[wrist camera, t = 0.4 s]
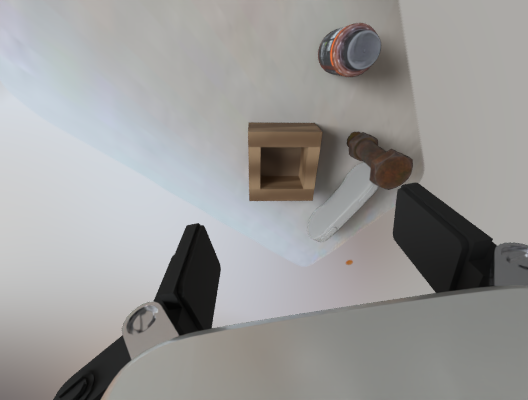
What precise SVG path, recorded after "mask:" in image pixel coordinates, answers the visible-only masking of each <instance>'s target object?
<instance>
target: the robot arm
mask: <svg viewBox="0 0 528 400" xmlns="http://www.w3.org/2000/svg"><path fill="white" fill-rule="evenodd" d="M393 237H394V240H395V241H396V242H397V244H398V245H399V246H400V247H401V249H402V250H403V251H404V253H405V254H406V255H407V257H408V258H409V259H410V260H411V262H412V263H413V264H414V265H415V266H416V268H417V269H418V271H419V272H420V273H421V274H422V276H423V277H424V278H425V279H426V281H427V282H428V283H429V285H430V286H431V287H432V288H433V290H434V291H435V292H436V293H433V294H427V295H420V296H413V297H406V298H400V299H393V300H387V301H380V302H373V303H366V304H360V305H354V306H347V307H341V308H334V309H328V310H321V311H315V312H309V313H302V314H296V315H289V316H284V317H277V318H271V319H265V320H258V321H252V322H246V323H240V324H234V325H229V326H223V327H217V328H212V322H213V315H214V309H215V303H216V296H217V290H218V284H219V277H220V271H221V268H220V263H219V260H218V258H217V256H216V253H215V251H214V248H213V246H212V244H211V241H210V239H209V236H208V234H207V231H206V229H205V227H204V226H203V225H202V226H201V225H200V224H199V223H197V224H192V225H187V226H186V228H185V231H184V233H183V236H182V238H181V240H180V243H179V245H178V248H177V250H176V253H175V255H174V256H173V257H172V258H171V261H170V263H169V266H168V268H167V271H166V273H165V275H164V278H163V280H162V282H161V285H160V287H159V290H158V292H157V294H156V297H155V299H154V302H147V303H145V304H142V305H140V306H139V307H137V308H136V309H135V310H133V311H132V312H131V313H130V314H129V316H128V317H127V318H126V320H125V322H124V323H123V327H122V334H123V335H122V336H121V337H120V338H119V339H118V340H116V341H115V342H114V343H112V344H111V345H110V346H109V347H108V348H106V349H105V350H104V351H103V352H101V353H100V354H99V355H98V356H96V357H95V358H94V359H93V360H92V361H91V362H89V363H88V364H87V365H85V366H84V367H83V368H82V369H80V370H79V371H78V372H77V373H76V374H74V375H73V376H72V377H71V378H70V379H69V380H68V381H67V382H65V384H64V385H63V386H62V387H61V388H60V390H59V391H58V392H57V394H56V396H55V398H54V399H53V400H528V245H525V244H520V243H503V244H500V245H498V246H497V245H496V244H494V243H493V242H492V240H493V239H492V238H491V237H489V236H488V235H487V234H485V233H484V232H483V231H481V230H480V229H479V228H477V227H476V226H475V225H473V224H472V223H471V222H469V221H468V220H467V219H465V218H464V217H463V216H461V215H460V214H459V213H457V212H456V211H454V210H453V209H452V208H451V207H449V206H448V205H447V204H445V203H444V202H443V201H441V200H440V199H438V198H437V197H436V196H434V195H433V194H432V193H430V192H429V191H428V190H426V189H425V188H424V187H422V186H421V185H420V184H418V183H410V184H405V185H402V186H401V188H400V189H398V191H397V199H396V209H395V218H394V228H393ZM211 328H212V329H211Z"/></svg>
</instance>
